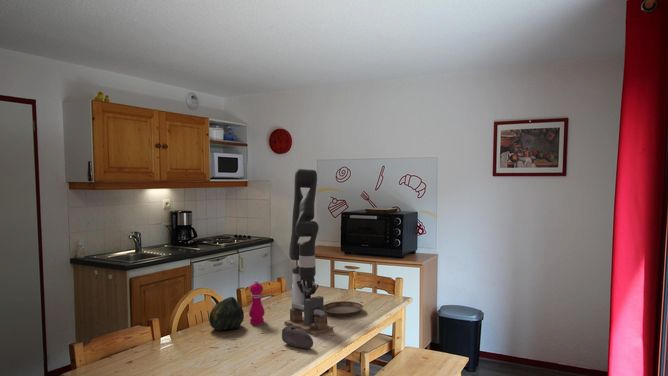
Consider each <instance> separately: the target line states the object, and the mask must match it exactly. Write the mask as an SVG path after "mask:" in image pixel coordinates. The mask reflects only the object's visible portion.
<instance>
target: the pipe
mask: <svg viewBox="0 0 668 376" xmlns="http://www.w3.org/2000/svg"><path fill="white" fill-rule="evenodd" d="M291 308H293V309H296V310H298V311H302V313H304V305H302V304H299V303H295V302H294V303H293V304H292V303H291ZM325 315H327V314H326V313H325V311H322V310H319V309H316V308H314V309H313V316H318V317H321V318H322V317H324V316H325Z"/></svg>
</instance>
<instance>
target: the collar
mask: <svg viewBox="0 0 668 376" xmlns="http://www.w3.org/2000/svg"><path fill="white" fill-rule="evenodd" d="M324 303H325V302H324V296H320V295H317V296H313V297H312V296H311V298H308V299H304V312H303V317H304V324H307V325H310V324H313V323H314V317H315V316H313V309H314V308H316V309H319V310H322V311H324V305H325V304H324Z"/></svg>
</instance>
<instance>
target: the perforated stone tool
mask: <svg viewBox="0 0 668 376" xmlns="http://www.w3.org/2000/svg"><path fill="white" fill-rule="evenodd" d="M281 339H282V341H283V342H284V343H285V344H287V345H289V346H292V347H296V348H301V349H311V348H312V347H313V345H314V341H313V338H312V337H311V334H309V333H306V332H304V331H302V330H300V329H298V328H295V327H291V326H287V325H286V326H284V327H283V329H282V330H281Z"/></svg>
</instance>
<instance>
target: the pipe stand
mask: <svg viewBox="0 0 668 376" xmlns="http://www.w3.org/2000/svg"><path fill="white" fill-rule="evenodd" d="M283 322H284V326H286V327H287V326H291V327H295V328H298V329H300V330H302V331H304V332H306V333H307V334H309V335H310V336H311V335H312V336H315V337H319V336H321V335H325V334H327V333H330V332H333V331H334V327H333V326H331V325H328V315H327V314H326V315H325V316H324V317H322V318H321V317H318V316H315V317H314V323H313V324H310V325H307V324H304V316H303V312H302V311H298V310H296V309H293V308H292V307H291V308H289V320H285V321H283Z"/></svg>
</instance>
